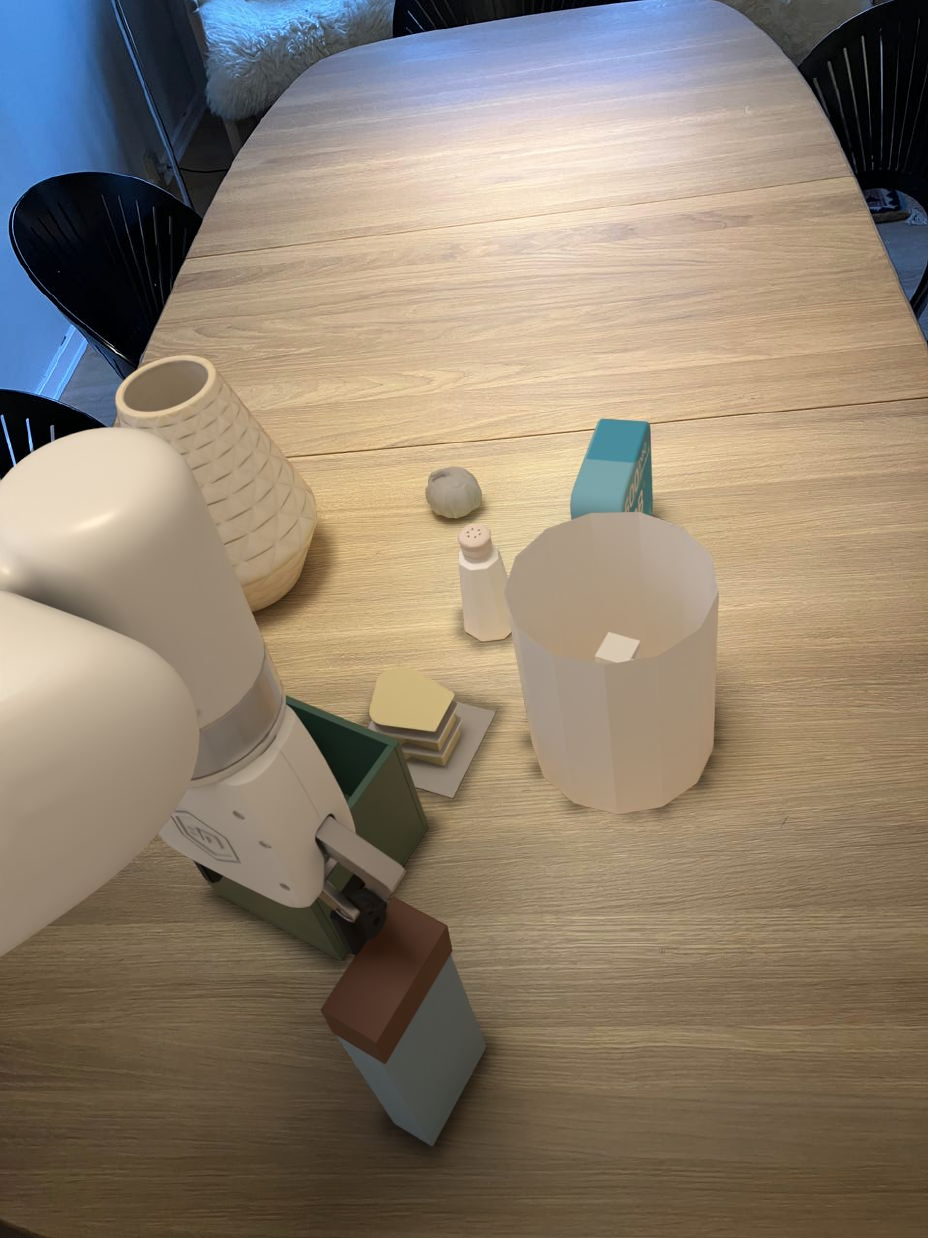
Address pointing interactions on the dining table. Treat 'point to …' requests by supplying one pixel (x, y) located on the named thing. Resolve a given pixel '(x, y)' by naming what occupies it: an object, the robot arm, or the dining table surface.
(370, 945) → the reddish brown block
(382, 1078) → the grey-blue rectangular block
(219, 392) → the vase
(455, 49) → the dining table surface
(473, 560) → the pepper shaker
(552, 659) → the container
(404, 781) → the bin
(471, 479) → the garlic
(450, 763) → the stacked layers on plate
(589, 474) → the teal box
